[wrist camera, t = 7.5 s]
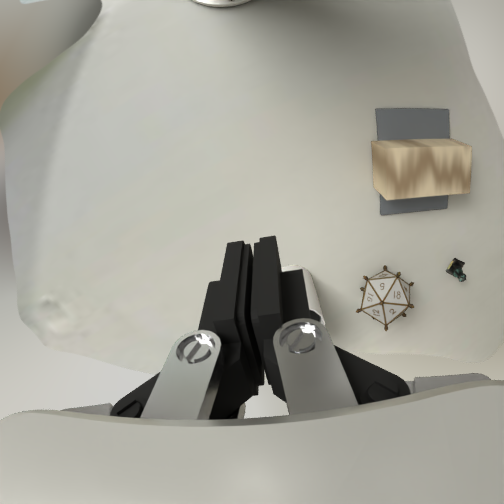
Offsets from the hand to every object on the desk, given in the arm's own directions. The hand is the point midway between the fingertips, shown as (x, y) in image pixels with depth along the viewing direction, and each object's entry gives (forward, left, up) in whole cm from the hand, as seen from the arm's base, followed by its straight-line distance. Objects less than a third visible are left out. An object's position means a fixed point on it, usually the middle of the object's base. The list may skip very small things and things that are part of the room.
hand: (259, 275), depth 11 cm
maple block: (+4, +13, -26) cm, 29 cm away
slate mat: (+4, +19, -29) cm, 35 cm away
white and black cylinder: (+20, +1, -29) cm, 35 cm away
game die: (+22, +14, -29) cm, 39 cm away
